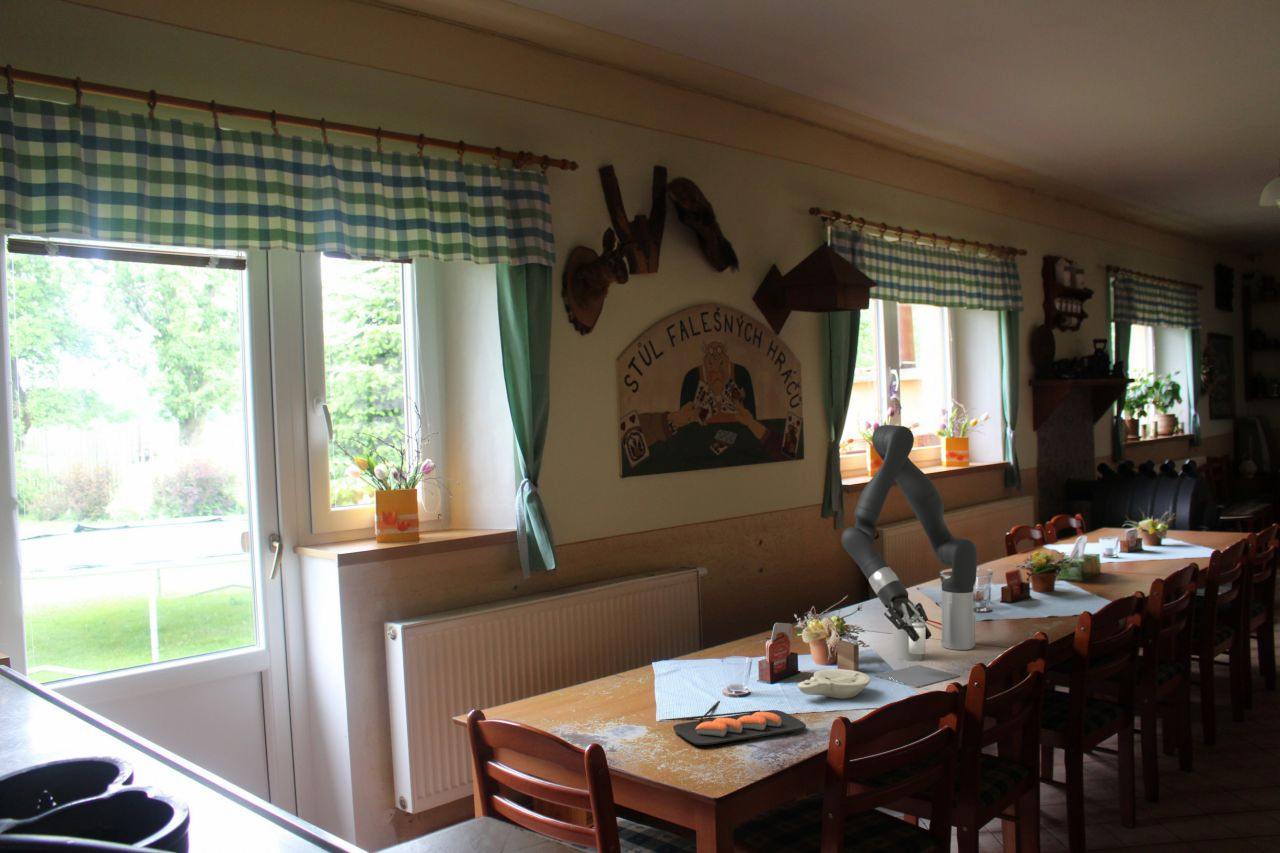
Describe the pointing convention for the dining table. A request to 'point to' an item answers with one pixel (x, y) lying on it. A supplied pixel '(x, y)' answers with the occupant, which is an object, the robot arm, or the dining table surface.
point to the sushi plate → (736, 726)
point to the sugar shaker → (920, 644)
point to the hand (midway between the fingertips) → (922, 638)
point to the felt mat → (918, 675)
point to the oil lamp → (835, 683)
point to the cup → (902, 646)
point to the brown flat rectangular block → (848, 655)
